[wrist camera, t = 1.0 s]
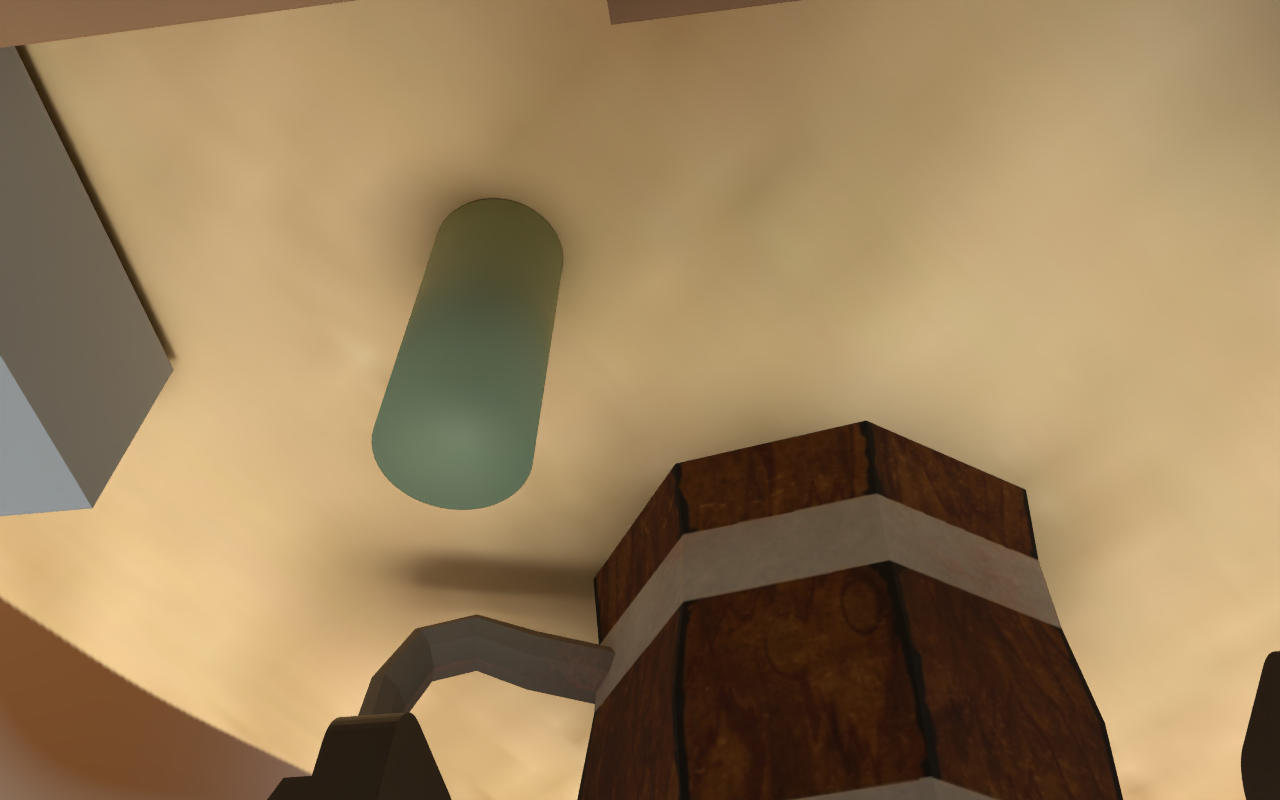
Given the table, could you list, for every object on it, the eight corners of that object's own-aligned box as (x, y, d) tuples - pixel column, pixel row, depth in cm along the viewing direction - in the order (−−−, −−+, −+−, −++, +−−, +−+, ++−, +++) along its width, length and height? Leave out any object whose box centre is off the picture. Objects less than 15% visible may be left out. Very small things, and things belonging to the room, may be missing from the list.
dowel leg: (420, 206, 26) (351, 396, 20) (550, 191, 25) (514, 380, 20) (452, 314, 28) (396, 515, 22) (573, 302, 27) (546, 503, 22)
